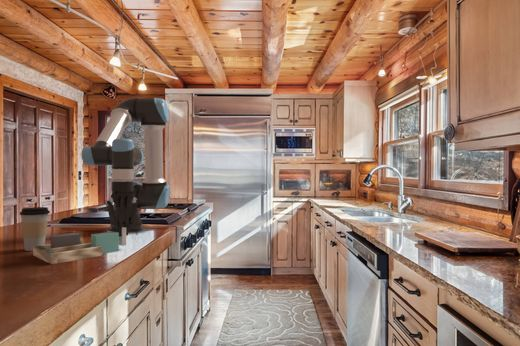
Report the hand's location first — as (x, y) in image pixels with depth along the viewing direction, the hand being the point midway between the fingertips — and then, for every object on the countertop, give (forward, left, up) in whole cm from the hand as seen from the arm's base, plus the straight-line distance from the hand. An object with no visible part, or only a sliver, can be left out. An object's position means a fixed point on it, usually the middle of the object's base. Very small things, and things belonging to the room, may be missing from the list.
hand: (122, 244), depth 127 cm
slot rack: (+16, -4, -2) cm, 17 cm away
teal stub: (+6, 0, -2) cm, 7 cm away
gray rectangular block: (+16, -8, -2) cm, 18 cm away
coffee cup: (+21, -23, -2) cm, 32 cm away
